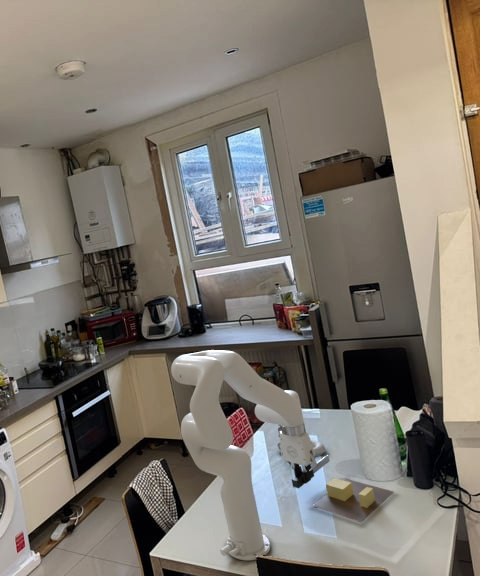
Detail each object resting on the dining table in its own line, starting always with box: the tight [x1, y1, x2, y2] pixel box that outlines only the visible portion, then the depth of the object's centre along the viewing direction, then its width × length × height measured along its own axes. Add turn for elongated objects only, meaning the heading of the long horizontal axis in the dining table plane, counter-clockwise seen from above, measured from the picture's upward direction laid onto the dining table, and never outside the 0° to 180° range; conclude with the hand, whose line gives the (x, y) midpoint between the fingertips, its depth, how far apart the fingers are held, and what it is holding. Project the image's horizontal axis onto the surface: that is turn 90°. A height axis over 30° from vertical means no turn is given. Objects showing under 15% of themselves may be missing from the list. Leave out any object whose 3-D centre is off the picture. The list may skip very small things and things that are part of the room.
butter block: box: [325, 477, 353, 501], centre depth 164 cm, size 5×6×4 cm
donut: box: [310, 439, 326, 458], centre depth 198 cm, size 10×4×10 cm
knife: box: [290, 454, 331, 489], centre depth 171 cm, size 20×2×3 cm, turn 124°
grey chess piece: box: [276, 426, 282, 457], centre depth 201 cm, size 6×6×12 cm
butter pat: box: [359, 487, 375, 508], centre depth 157 cm, size 5×2×4 cm, turn 124°
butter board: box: [311, 478, 394, 523], centre depth 161 cm, size 20×16×1 cm
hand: (303, 480), depth 168 cm, fingers closed on knife, 2 cm apart
